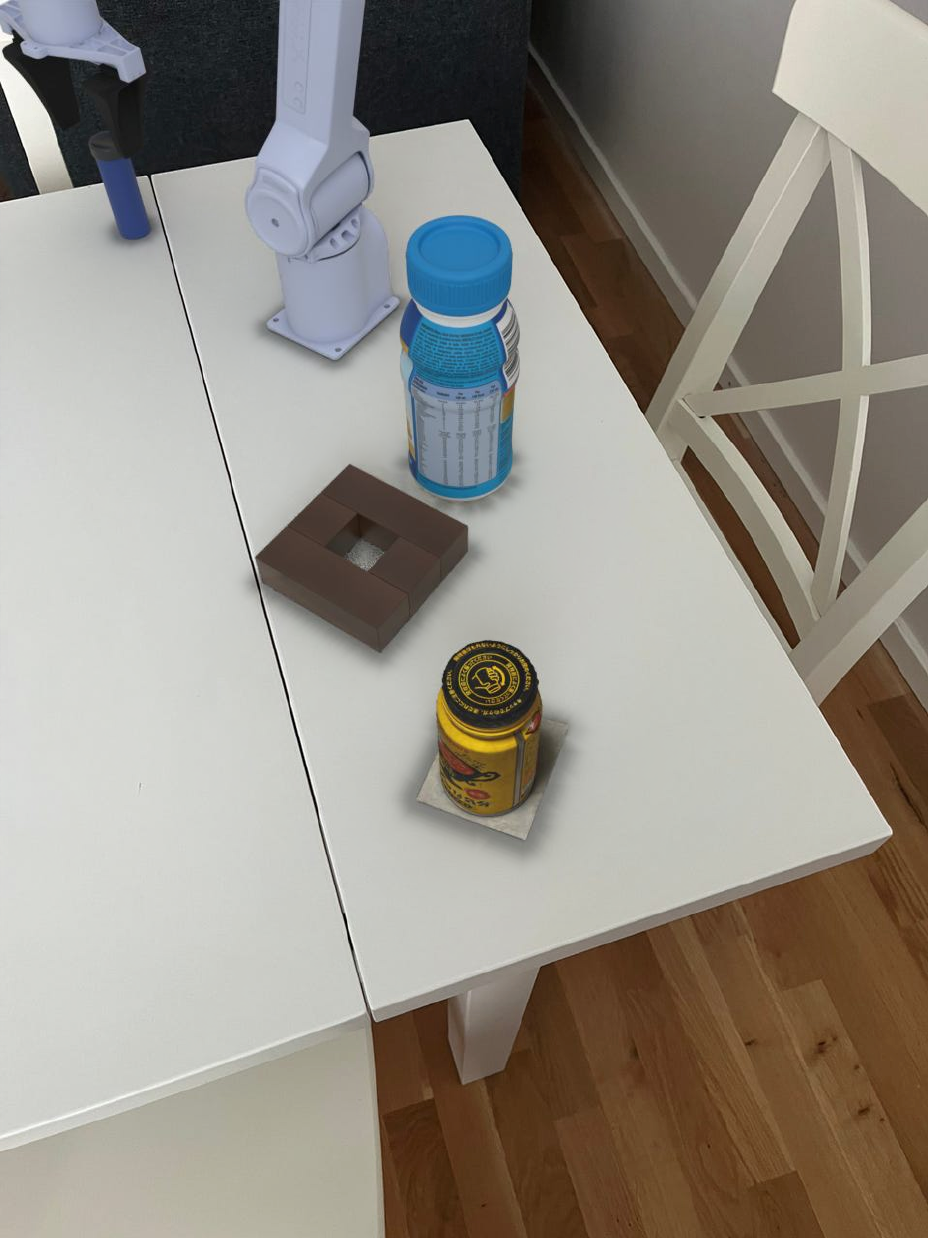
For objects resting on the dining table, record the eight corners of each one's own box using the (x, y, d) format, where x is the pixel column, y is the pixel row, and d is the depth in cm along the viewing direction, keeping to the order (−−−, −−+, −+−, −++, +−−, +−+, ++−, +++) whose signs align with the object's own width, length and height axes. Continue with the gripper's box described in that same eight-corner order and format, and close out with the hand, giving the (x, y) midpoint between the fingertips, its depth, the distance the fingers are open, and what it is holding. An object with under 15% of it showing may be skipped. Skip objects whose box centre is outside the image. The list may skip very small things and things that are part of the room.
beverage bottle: (443, 523, 75) (436, 304, 58) (387, 454, 79) (366, 231, 62) (534, 478, 77) (553, 256, 61) (476, 414, 81) (479, 189, 65)
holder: (353, 489, 77) (349, 463, 74) (468, 551, 73) (468, 525, 71) (261, 582, 72) (254, 556, 69) (380, 653, 68) (377, 629, 66)
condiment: (415, 801, 62) (406, 707, 52) (465, 692, 66) (465, 587, 56) (525, 842, 60) (537, 753, 50) (568, 727, 65) (587, 626, 55)
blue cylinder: (135, 215, 97) (107, 125, 89) (160, 227, 96) (134, 137, 88) (110, 232, 95) (80, 143, 88) (135, 244, 94) (107, 155, 87)
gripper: (-61, -40, 75) (7, 133, 86) (73, 12, 70) (127, 187, 82) (11, -73, 78) (68, 98, 90) (144, -26, 74) (186, 148, 85)
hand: (100, 138), depth 86 cm, fingers open, 7 cm apart
